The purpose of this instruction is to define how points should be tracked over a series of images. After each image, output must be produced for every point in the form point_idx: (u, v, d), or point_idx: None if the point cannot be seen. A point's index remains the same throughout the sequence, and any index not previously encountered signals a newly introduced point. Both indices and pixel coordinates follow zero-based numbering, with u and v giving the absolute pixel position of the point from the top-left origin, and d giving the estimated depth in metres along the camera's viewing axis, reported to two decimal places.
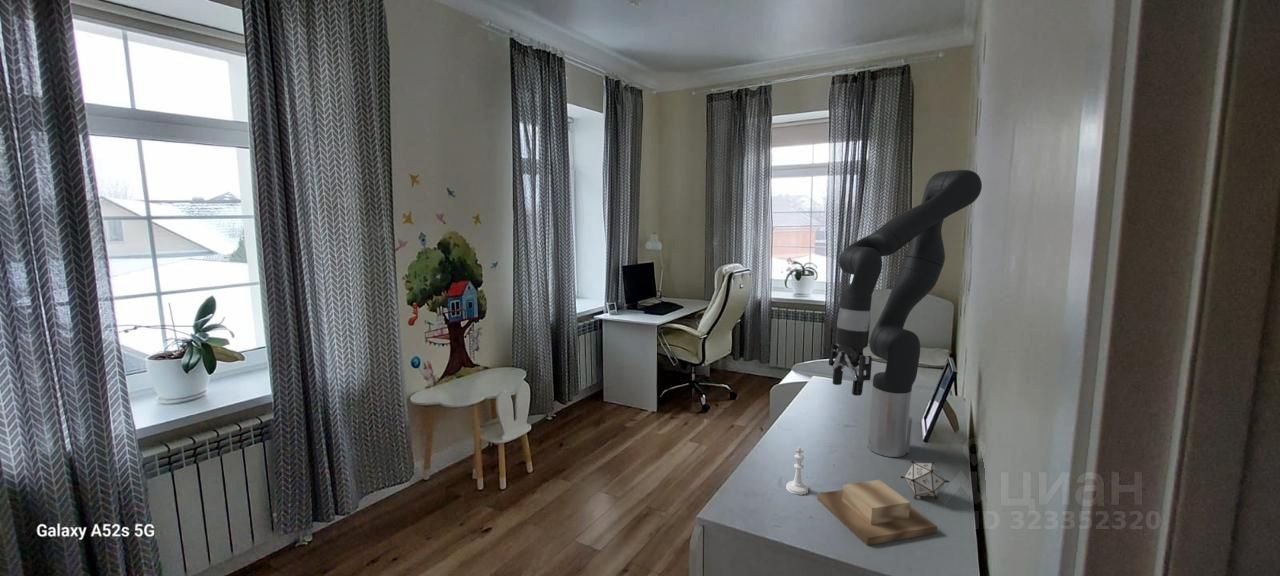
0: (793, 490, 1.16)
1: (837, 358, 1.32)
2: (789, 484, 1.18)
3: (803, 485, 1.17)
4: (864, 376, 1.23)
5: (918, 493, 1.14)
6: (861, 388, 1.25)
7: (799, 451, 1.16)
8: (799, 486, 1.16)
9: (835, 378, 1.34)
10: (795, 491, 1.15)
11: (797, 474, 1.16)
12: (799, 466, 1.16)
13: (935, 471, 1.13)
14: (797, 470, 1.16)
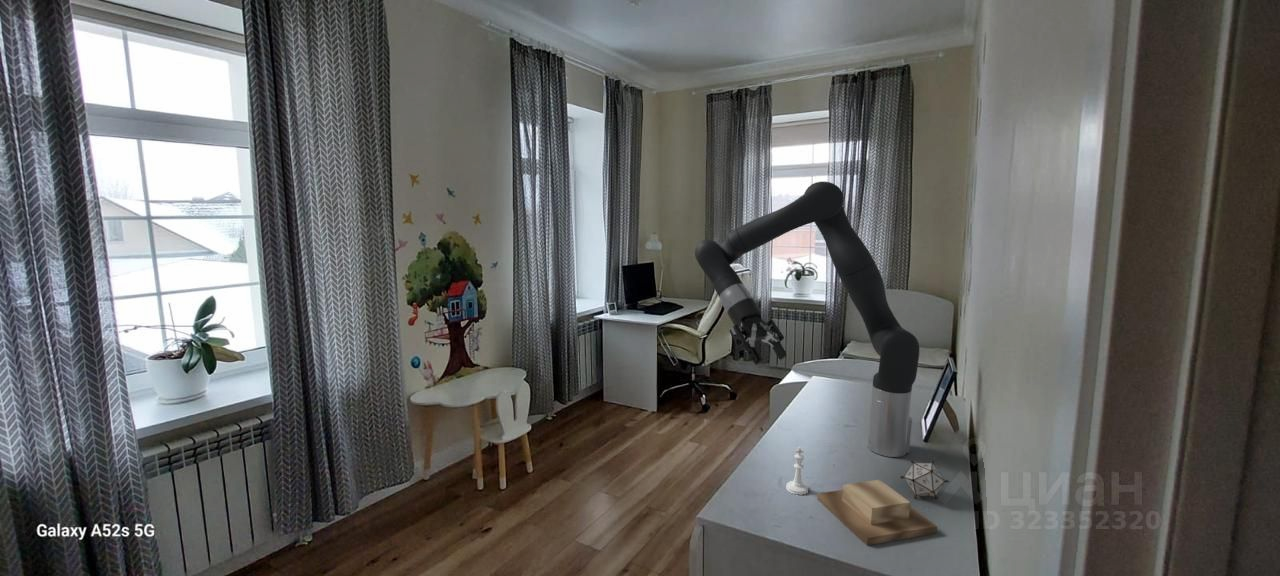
0: (793, 490, 1.16)
1: None
2: (789, 484, 1.18)
3: (803, 485, 1.17)
4: (740, 345, 1.23)
5: (918, 493, 1.14)
6: (753, 355, 1.22)
7: (799, 451, 1.16)
8: (799, 486, 1.16)
9: (777, 354, 1.28)
10: (795, 491, 1.15)
11: (797, 474, 1.16)
12: (799, 466, 1.16)
13: (935, 471, 1.13)
14: (797, 470, 1.16)
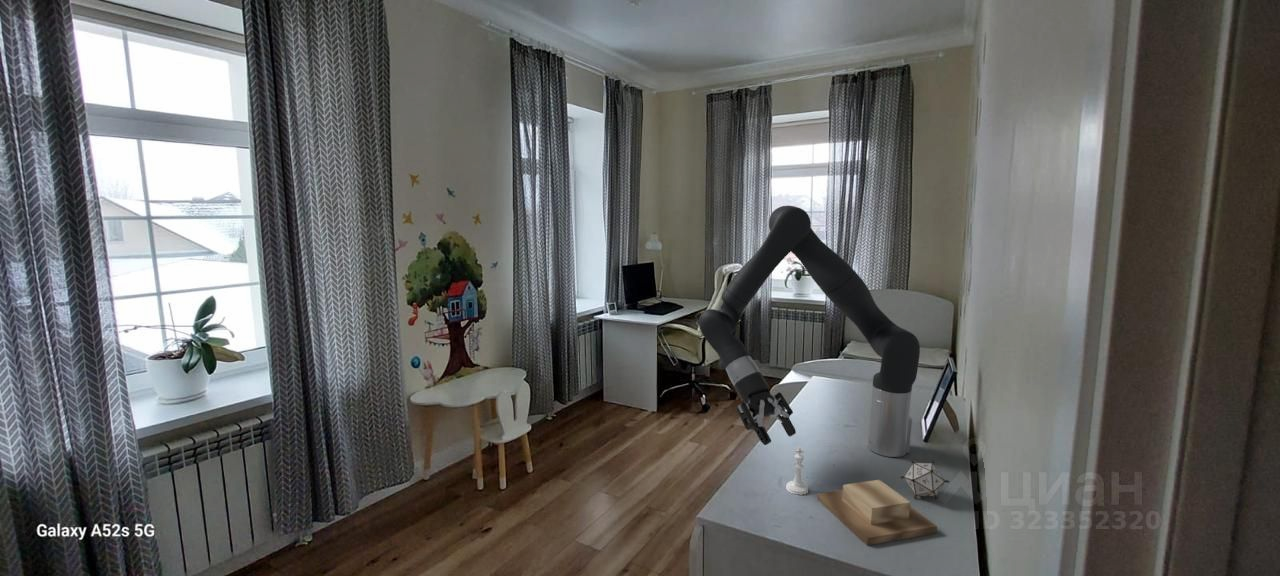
0: (793, 490, 1.16)
1: None
2: (789, 484, 1.18)
3: (803, 485, 1.17)
4: (747, 424, 1.19)
5: (918, 493, 1.14)
6: (761, 436, 1.18)
7: (799, 451, 1.16)
8: (799, 486, 1.16)
9: (786, 430, 1.24)
10: (795, 491, 1.15)
11: (797, 474, 1.16)
12: (799, 466, 1.16)
13: (935, 471, 1.13)
14: (797, 470, 1.16)
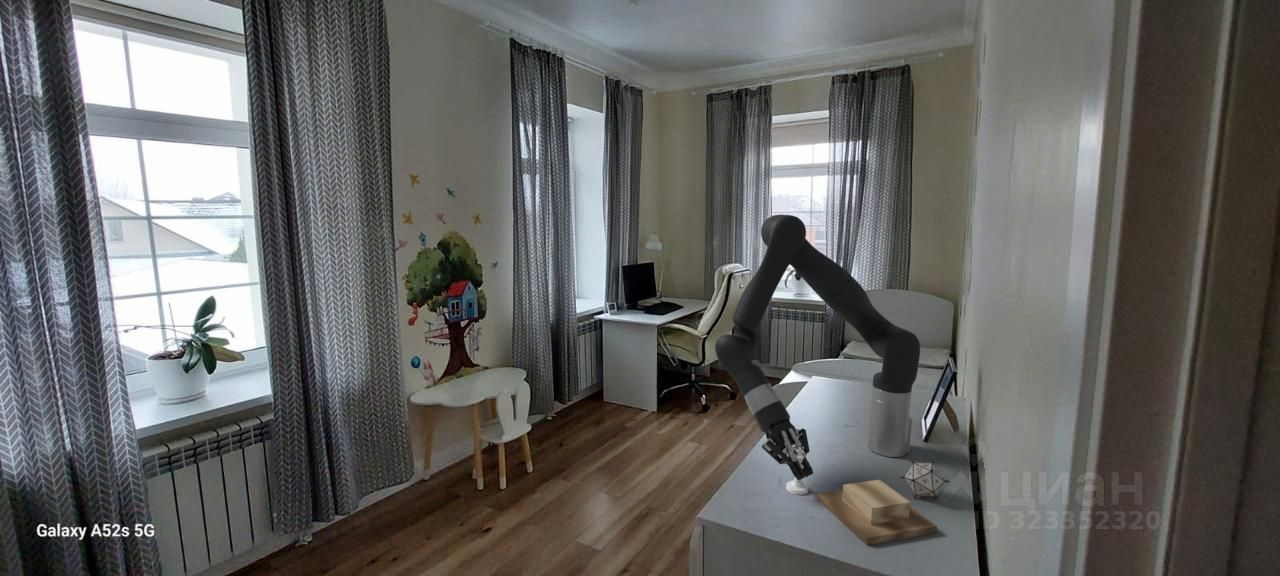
0: (793, 490, 1.16)
1: None
2: (789, 484, 1.18)
3: (803, 485, 1.17)
4: (780, 459, 1.16)
5: (918, 493, 1.14)
6: (795, 470, 1.14)
7: (799, 451, 1.16)
8: (799, 486, 1.16)
9: (802, 470, 1.17)
10: (795, 491, 1.15)
11: None
12: None
13: (935, 471, 1.13)
14: None
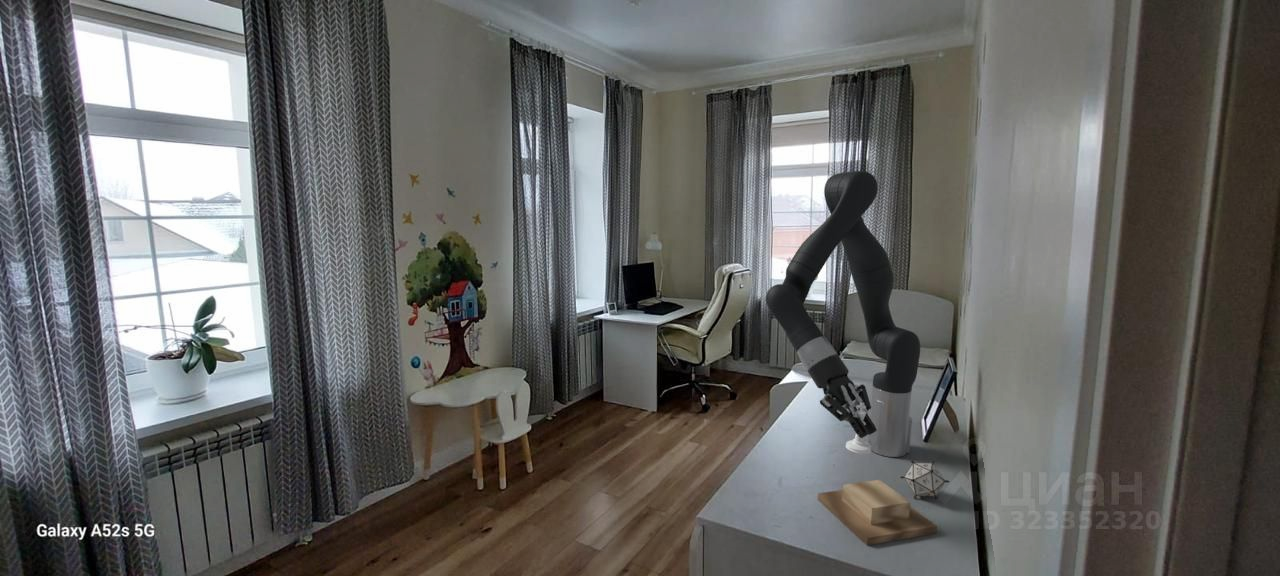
0: (855, 449, 1.06)
1: None
2: (849, 443, 1.08)
3: (865, 444, 1.08)
4: (841, 415, 1.06)
5: (918, 493, 1.14)
6: (857, 427, 1.05)
7: (861, 406, 1.07)
8: (861, 445, 1.07)
9: None
10: (857, 450, 1.06)
11: None
12: None
13: (935, 471, 1.13)
14: None
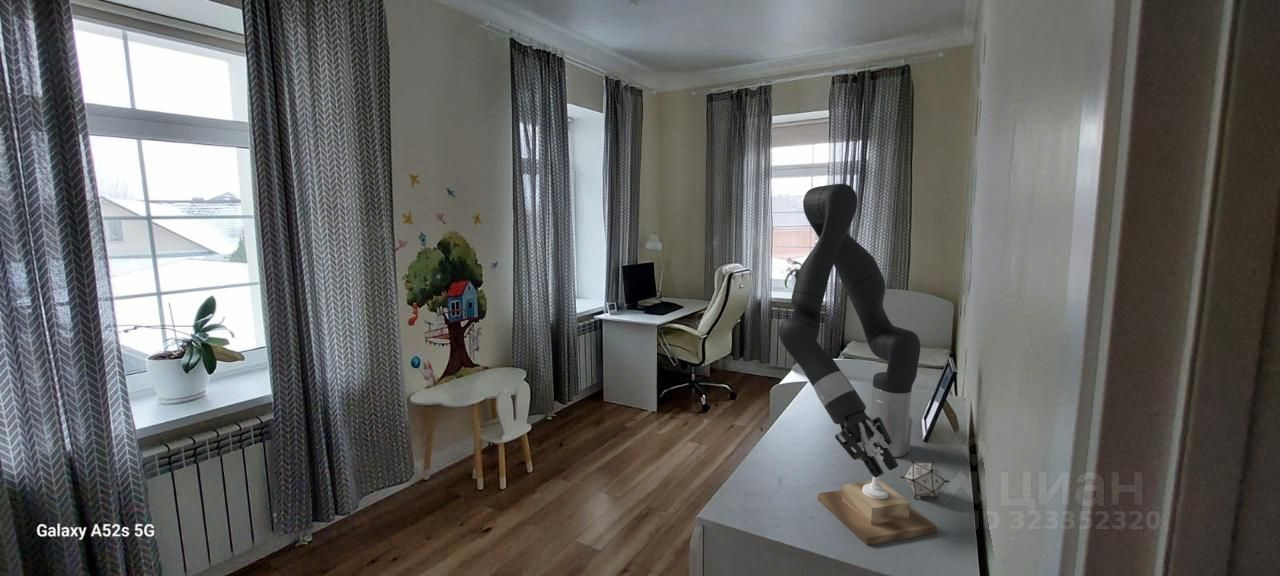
0: (872, 494, 1.05)
1: None
2: (866, 487, 1.07)
3: (882, 488, 1.06)
4: (854, 453, 1.04)
5: (918, 493, 1.14)
6: (872, 467, 1.03)
7: (878, 451, 1.05)
8: (878, 490, 1.06)
9: (885, 462, 1.07)
10: (874, 495, 1.05)
11: None
12: None
13: (935, 471, 1.13)
14: None
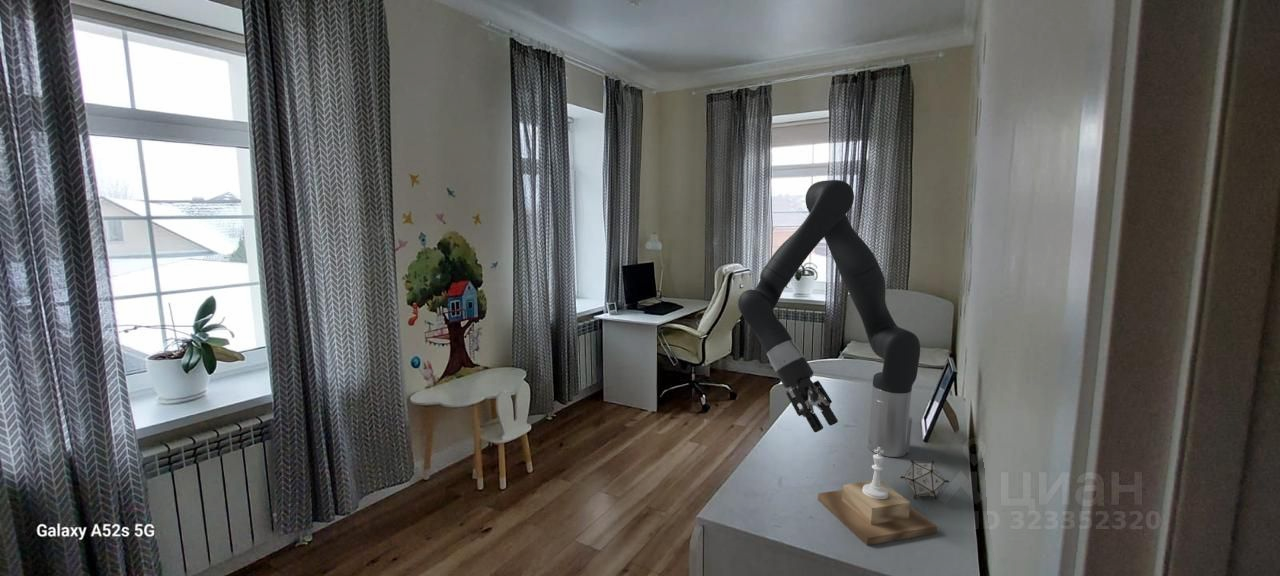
0: (872, 494, 1.05)
1: None
2: (866, 487, 1.07)
3: (882, 488, 1.06)
4: (800, 410, 1.13)
5: (918, 493, 1.14)
6: (814, 422, 1.13)
7: (878, 451, 1.05)
8: (878, 490, 1.06)
9: (826, 419, 1.20)
10: (874, 495, 1.05)
11: (876, 476, 1.06)
12: (878, 468, 1.05)
13: (935, 471, 1.13)
14: (876, 472, 1.06)
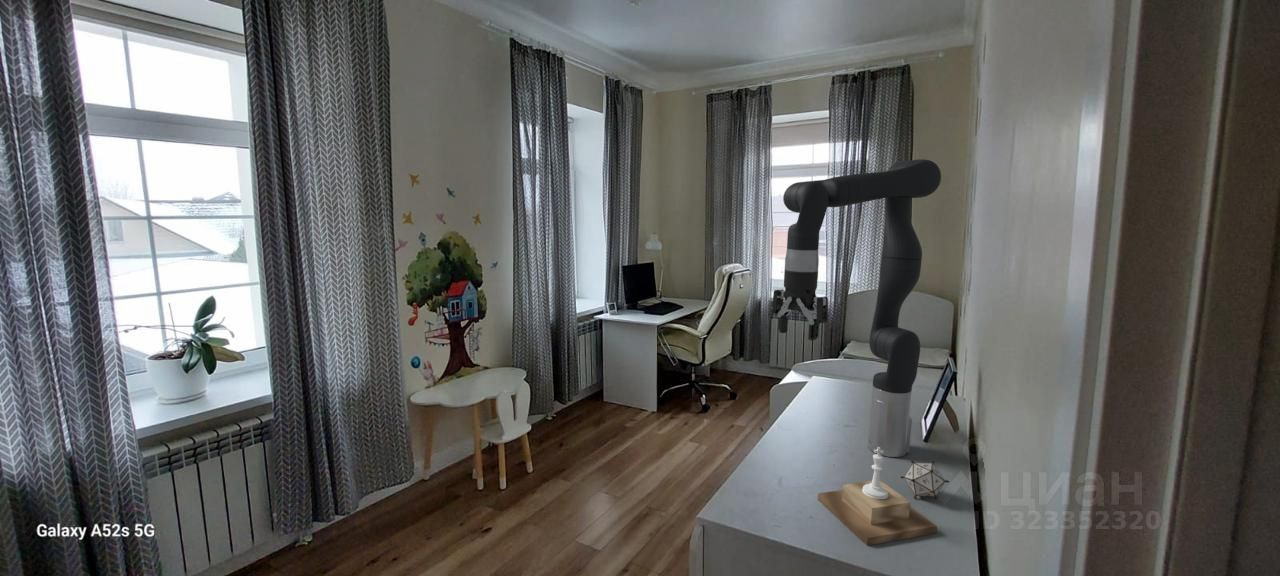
0: (872, 494, 1.05)
1: (785, 304, 1.23)
2: (866, 487, 1.07)
3: (882, 488, 1.06)
4: (822, 318, 1.17)
5: (918, 493, 1.14)
6: (817, 332, 1.19)
7: (878, 451, 1.05)
8: (878, 490, 1.06)
9: (782, 326, 1.26)
10: (874, 495, 1.05)
11: (876, 476, 1.06)
12: (878, 468, 1.05)
13: (935, 471, 1.13)
14: (876, 472, 1.06)
